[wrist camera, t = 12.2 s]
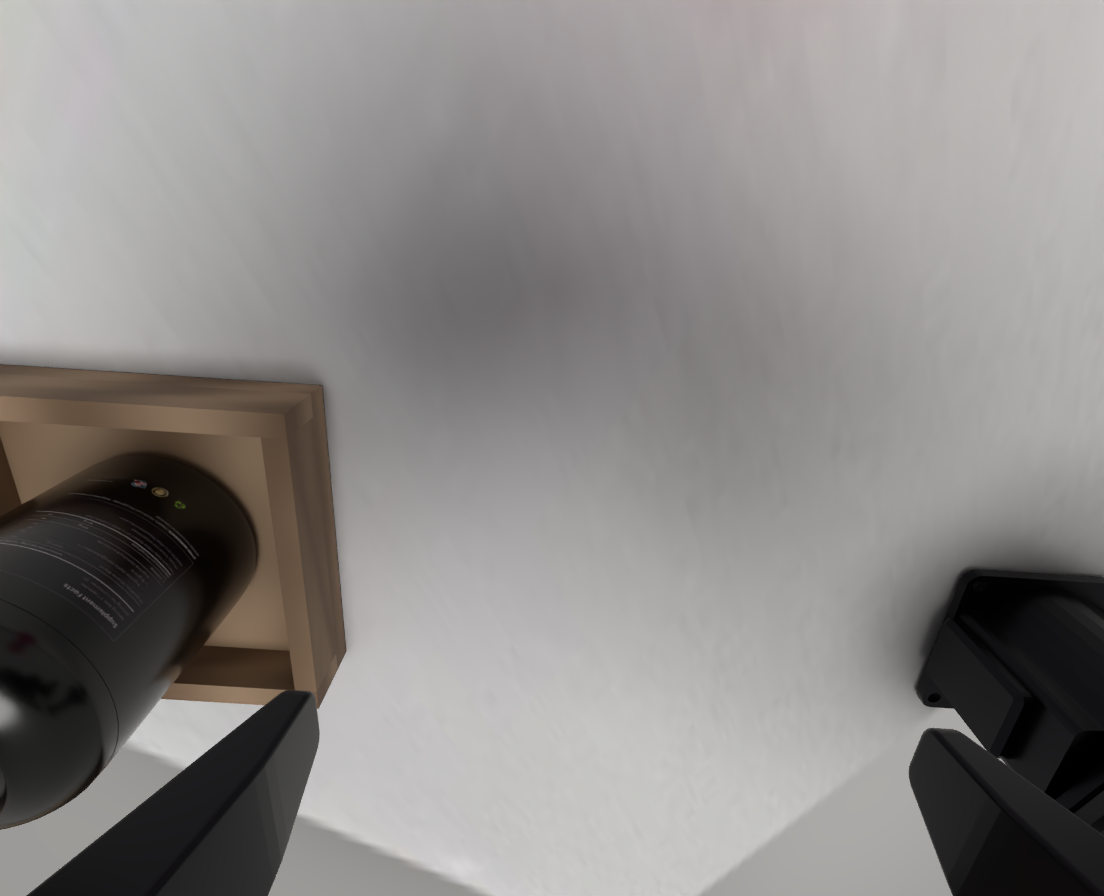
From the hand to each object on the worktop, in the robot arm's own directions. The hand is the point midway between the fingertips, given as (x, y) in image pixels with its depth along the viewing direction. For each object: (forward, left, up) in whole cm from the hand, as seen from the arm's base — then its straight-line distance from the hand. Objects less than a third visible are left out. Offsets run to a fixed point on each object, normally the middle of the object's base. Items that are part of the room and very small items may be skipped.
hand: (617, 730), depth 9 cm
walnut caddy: (+15, +5, -13) cm, 20 cm away
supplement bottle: (+15, +5, -12) cm, 20 cm away
